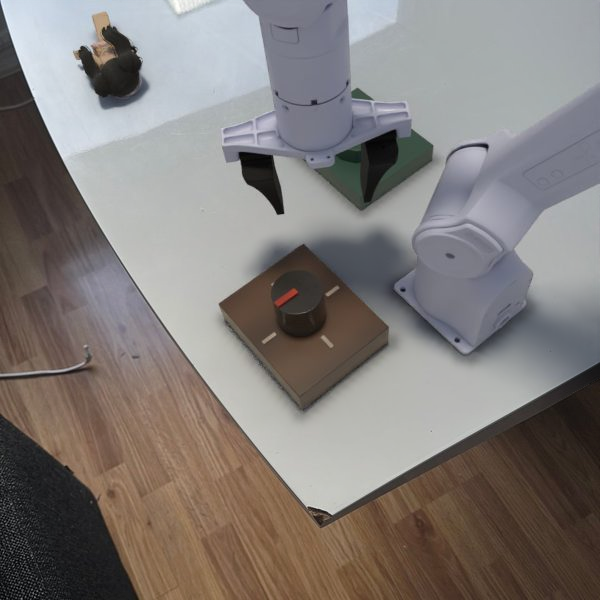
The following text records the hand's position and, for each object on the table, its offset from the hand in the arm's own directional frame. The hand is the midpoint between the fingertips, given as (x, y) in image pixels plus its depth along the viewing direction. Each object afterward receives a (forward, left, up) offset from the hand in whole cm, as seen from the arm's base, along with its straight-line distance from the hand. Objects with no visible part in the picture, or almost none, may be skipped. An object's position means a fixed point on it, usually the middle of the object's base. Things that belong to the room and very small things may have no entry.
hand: (322, 199), depth 58 cm
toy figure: (+40, +2, -8) cm, 41 cm away
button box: (+8, -11, -8) cm, 16 cm away
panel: (-5, +7, -8) cm, 12 cm away
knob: (-5, +7, -5) cm, 10 cm away
